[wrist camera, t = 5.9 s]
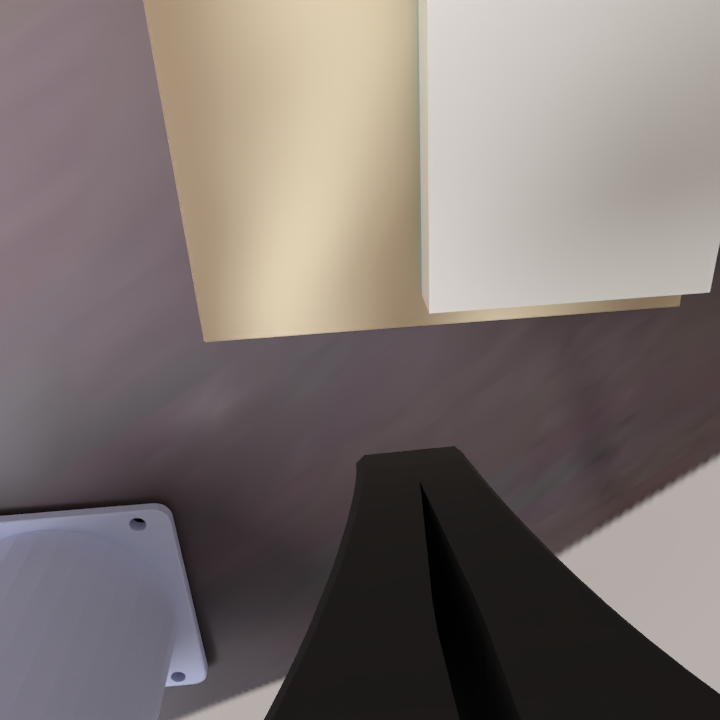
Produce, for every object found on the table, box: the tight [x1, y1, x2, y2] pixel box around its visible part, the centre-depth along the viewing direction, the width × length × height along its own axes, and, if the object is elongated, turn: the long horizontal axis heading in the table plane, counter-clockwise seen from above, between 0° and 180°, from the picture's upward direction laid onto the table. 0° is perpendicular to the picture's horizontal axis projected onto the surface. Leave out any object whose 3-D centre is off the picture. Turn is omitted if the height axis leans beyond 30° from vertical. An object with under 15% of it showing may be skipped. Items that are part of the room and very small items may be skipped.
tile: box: [417, 0, 720, 314], centre depth 15 cm, size 2×7×7 cm
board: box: [143, 0, 681, 342], centre depth 16 cm, size 13×11×1 cm
